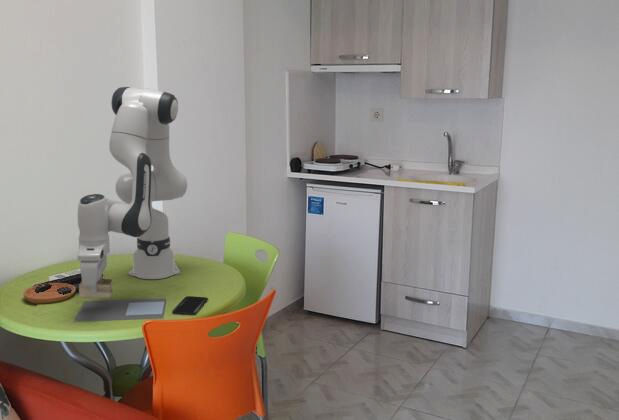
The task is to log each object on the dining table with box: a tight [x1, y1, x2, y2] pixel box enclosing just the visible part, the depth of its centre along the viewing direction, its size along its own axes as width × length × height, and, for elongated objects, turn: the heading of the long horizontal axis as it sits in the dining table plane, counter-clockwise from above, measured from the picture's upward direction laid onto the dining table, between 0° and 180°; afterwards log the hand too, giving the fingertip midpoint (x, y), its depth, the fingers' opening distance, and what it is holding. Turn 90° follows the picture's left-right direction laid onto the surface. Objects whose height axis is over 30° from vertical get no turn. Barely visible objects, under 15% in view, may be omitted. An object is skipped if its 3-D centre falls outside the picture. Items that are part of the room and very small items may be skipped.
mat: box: [73, 297, 167, 323], centre depth 193 cm, size 18×26×1 cm
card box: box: [78, 278, 114, 299], centre depth 191 cm, size 5×9×4 cm, turn 98°
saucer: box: [22, 282, 76, 305], centre depth 203 cm, size 16×16×3 cm
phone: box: [171, 295, 209, 317], centre depth 198 cm, size 8×1×15 cm
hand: (96, 290), depth 191 cm, fingers closed on card box, 5 cm apart
